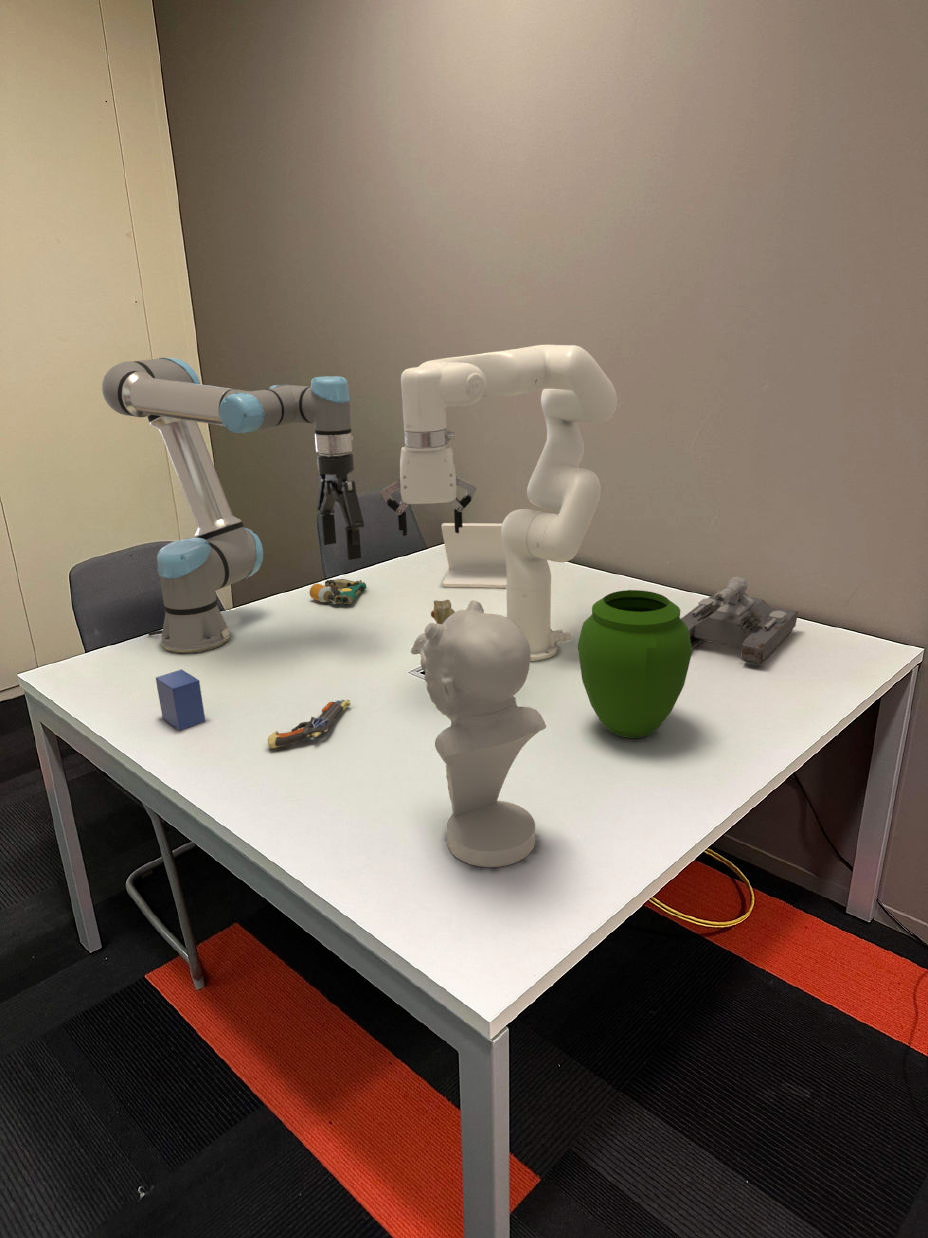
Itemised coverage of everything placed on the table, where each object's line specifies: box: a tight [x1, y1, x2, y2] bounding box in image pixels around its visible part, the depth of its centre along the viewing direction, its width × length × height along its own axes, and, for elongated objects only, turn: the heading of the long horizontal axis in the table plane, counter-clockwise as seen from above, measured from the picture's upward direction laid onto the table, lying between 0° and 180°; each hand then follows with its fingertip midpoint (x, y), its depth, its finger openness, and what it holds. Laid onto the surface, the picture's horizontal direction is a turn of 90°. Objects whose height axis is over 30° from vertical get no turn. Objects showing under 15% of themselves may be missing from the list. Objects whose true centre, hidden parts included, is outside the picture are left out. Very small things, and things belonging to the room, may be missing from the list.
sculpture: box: [430, 599, 456, 624], centre depth 177 cm, size 6×7×15 cm
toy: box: [680, 576, 799, 666], centre depth 187 cm, size 25×20×15 cm
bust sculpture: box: [410, 599, 547, 868], centre depth 121 cm, size 16×24×35 cm
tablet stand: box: [441, 522, 507, 589], centre depth 235 cm, size 18×25×17 cm
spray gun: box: [308, 578, 367, 605], centre depth 226 cm, size 4×17×15 cm
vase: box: [576, 589, 693, 739], centre depth 149 cm, size 20×20×24 cm
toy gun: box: [267, 699, 351, 749], centre depth 157 cm, size 3×19×10 cm
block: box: [155, 668, 206, 732], centre depth 160 cm, size 5×7×9 cm
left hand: (341, 551), depth 186 cm, fingers open, 13 cm apart
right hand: (431, 532), depth 158 cm, fingers open, 9 cm apart
